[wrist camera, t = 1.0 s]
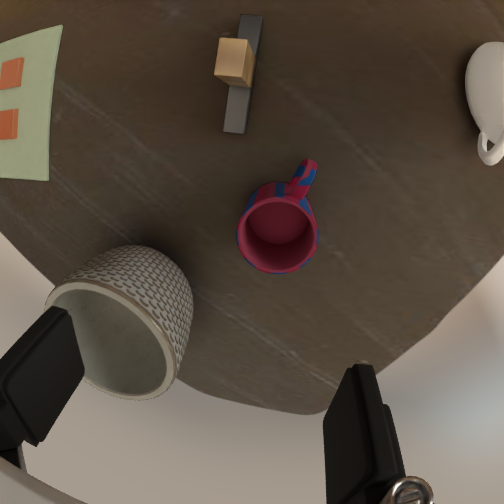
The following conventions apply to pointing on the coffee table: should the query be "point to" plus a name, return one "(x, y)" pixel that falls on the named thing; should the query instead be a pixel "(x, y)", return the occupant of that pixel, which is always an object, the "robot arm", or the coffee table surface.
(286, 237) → the cup
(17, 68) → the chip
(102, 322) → the planter
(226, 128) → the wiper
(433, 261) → the coffee table surface
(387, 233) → the coffee table surface
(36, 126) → the mat
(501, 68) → the teapot
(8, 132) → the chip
